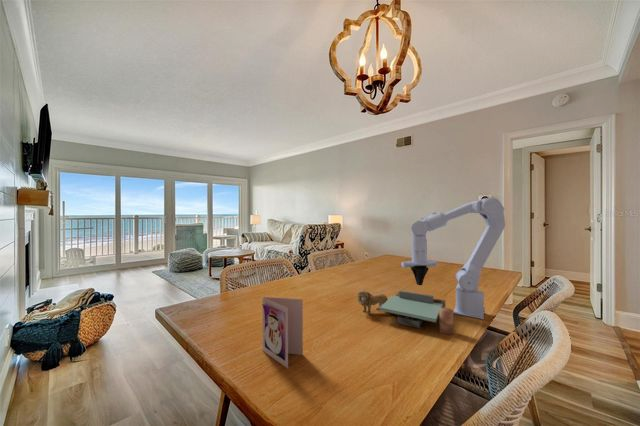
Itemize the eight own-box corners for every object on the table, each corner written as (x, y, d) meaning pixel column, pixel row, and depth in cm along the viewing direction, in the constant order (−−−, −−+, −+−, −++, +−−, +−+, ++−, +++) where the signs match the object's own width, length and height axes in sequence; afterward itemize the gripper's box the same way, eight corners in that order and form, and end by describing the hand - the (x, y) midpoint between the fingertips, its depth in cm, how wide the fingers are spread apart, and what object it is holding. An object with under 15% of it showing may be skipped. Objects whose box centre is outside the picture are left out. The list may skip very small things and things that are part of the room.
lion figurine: (361, 317, 94) (361, 293, 94) (354, 312, 99) (354, 289, 98) (394, 311, 100) (394, 288, 100) (385, 306, 105) (385, 284, 105)
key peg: (454, 330, 83) (454, 309, 83) (452, 336, 80) (452, 313, 80) (440, 327, 86) (440, 306, 85) (438, 332, 82) (438, 310, 82)
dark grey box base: (445, 310, 100) (445, 300, 100) (437, 332, 83) (437, 319, 82) (398, 301, 110) (398, 292, 110) (382, 319, 92) (382, 308, 92)
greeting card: (260, 351, 71) (259, 297, 71) (282, 342, 76) (281, 291, 76) (285, 370, 63) (284, 308, 63) (307, 357, 68) (307, 301, 68)
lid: (442, 306, 93) (442, 297, 93) (435, 322, 80) (435, 311, 80) (392, 297, 103) (392, 289, 103) (379, 310, 90) (379, 300, 90)
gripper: (407, 252, 98) (407, 288, 98) (441, 251, 101) (442, 286, 101) (398, 250, 105) (398, 283, 105) (431, 248, 108) (431, 281, 108)
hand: (419, 284), depth 104 cm, fingers closed
